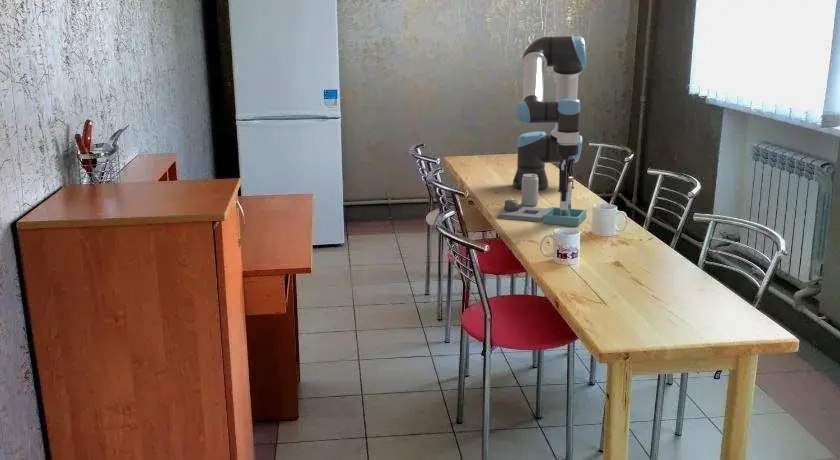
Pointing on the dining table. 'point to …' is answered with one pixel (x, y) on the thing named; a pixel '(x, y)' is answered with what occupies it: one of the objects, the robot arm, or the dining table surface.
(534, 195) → the beverage can
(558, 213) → the tray
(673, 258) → the dining table surface
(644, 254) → the dining table surface
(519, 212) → the board
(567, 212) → the bottle with red cap
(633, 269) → the dining table surface
